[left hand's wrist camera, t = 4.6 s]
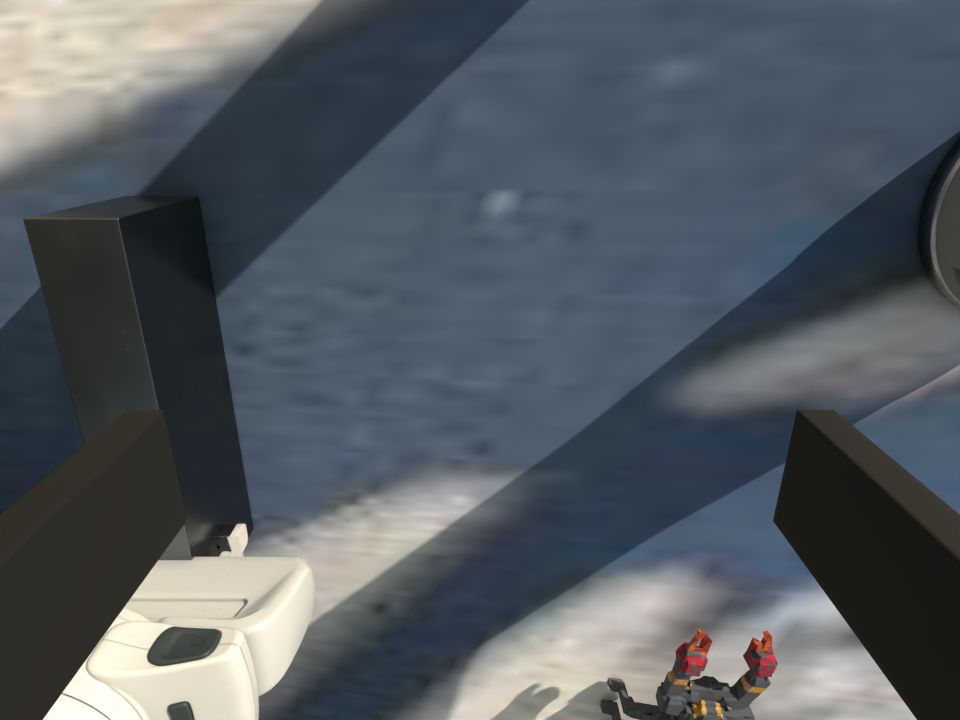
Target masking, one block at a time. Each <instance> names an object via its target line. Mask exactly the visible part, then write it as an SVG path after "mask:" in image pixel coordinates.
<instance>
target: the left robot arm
mask: <svg viewBox="0 0 960 720" xmlns="http://www.w3.org/2000/svg"><path fill="white" fill-rule="evenodd" d="M919 243H920V252H921V257H922V261H923V264H924V267H925V270H926V272H927V274H928V277H929V279H930V280H931V282H932V283H933V285H934V286H935V288H936V289H937V290H938V291H939V292H940V293H941V294H942V295H943V296H944V297H945V298H946V299H947V300H948V301H950V302H951V303H953V304H954V305H956V306H958V307H960V140H959V142H958V143H957V144H956V145H955V146H954V148H953V149H952V150H951V152H950V153H949V154H948V156H947V157H946V159H945V160H944V162H943V163H942V165H941V167H940V168H939V170H938V172H937V174H936V176H935V178H934V179H933V181H932V184H931V186H930V188H929V191H928V193H927V196H926V199H925V203H924V206H923V210H922V215H921V221H920V229H919ZM186 521H187V519H186V515H185V510H184V505H183V501H182V496H181V491H180V487H179V482H178V478H177V473H176V468H175V464H174V459H173V454H172V450H171V445H170V441H169V436H168V431H167V427H166V422H165V417H164V413H163V410H126V411H124V412H123V413H122V414H121V415H120V416H118V417H117V418H116V419H115V420H114V421H112V422H111V423H110V424H109V425H108V426H106V427H105V428H104V429H103V430H102V431H100V432H99V433H98V434H97V435H96V436H94V437H93V438H92V439H91V440H90V441H88V442H87V443H86V444H85V445H84V446H82V447H81V448H80V449H79V450H78V451H76V452H75V453H74V454H73V455H72V456H70V457H69V458H68V459H67V460H66V461H64V462H63V463H62V464H61V465H60V466H58V467H57V468H56V469H55V470H54V471H52V472H51V473H50V474H49V475H48V476H46V477H45V478H44V479H43V480H42V481H40V482H39V483H38V484H37V485H36V486H34V487H33V488H32V489H31V490H29V491H28V492H27V493H26V494H25V495H23V496H22V497H21V498H20V499H19V500H17V501H16V502H15V503H14V504H13V505H11V506H10V507H9V508H8V509H7V510H5V511H4V512H3V513H2V514H1V515H0V720H43V719H44V717H45V716H46V715H47V713H48V712H49V711H50V709H51V708H52V706H53V705H54V704H55V702H56V701H57V699H58V698H59V697H60V695H61V694H62V693H63V691H64V690H65V688H66V687H67V686H68V684H69V683H70V681H71V680H72V679H73V677H74V676H75V675H76V673H77V672H78V670H79V669H80V668H81V666H82V665H83V664H84V662H85V661H86V659H87V658H88V657H89V655H90V654H91V652H92V651H93V650H94V648H95V647H96V646H97V644H98V643H99V641H100V640H101V639H102V637H103V636H104V635H105V633H106V632H107V630H108V629H109V628H110V626H111V625H112V623H113V622H114V621H115V619H116V618H117V617H118V615H119V614H120V612H121V611H122V610H123V608H124V607H125V606H126V604H127V603H128V601H129V600H130V599H131V597H132V596H133V594H134V593H135V592H136V590H137V589H138V588H139V586H140V585H141V583H142V582H143V581H144V579H145V578H146V577H147V575H148V574H149V572H150V571H151V570H152V568H153V567H154V565H155V564H156V563H157V561H158V560H159V559H160V557H161V556H162V554H163V553H164V552H165V550H166V549H167V548H168V546H169V545H170V543H171V542H172V541H173V539H174V538H175V536H176V535H177V534H178V532H179V531H180V530H181V528H182V527H183V525H184V524H185V523H186ZM773 521H774V523H775V524H776V525H777V527H778V528H779V530H780V531H781V532H782V534H783V535H784V536H785V538H786V539H787V541H788V542H789V543H790V545H791V546H792V548H793V549H794V550H795V552H796V553H797V554H798V556H799V557H800V559H801V560H802V561H803V563H804V564H805V565H806V567H807V568H808V570H809V571H810V572H811V574H812V575H813V577H814V578H815V579H816V581H817V582H818V583H819V585H820V586H821V588H822V589H823V590H824V592H825V593H826V594H827V596H828V597H829V599H830V600H831V601H832V603H833V604H834V606H835V607H836V608H837V610H838V611H839V612H840V614H841V615H842V617H843V618H844V619H845V621H846V622H847V623H848V625H849V626H850V628H851V629H852V630H853V632H854V633H855V635H856V636H857V637H858V639H859V640H860V641H861V643H862V644H863V646H864V647H865V648H866V650H867V651H868V652H869V654H870V655H871V657H872V658H873V659H874V661H875V662H876V664H877V665H878V666H879V668H880V669H881V670H882V672H883V673H884V675H885V676H886V677H887V679H888V680H889V681H890V683H891V684H892V686H893V687H894V688H895V690H896V691H897V693H898V694H899V695H900V697H901V698H902V699H903V701H904V702H905V704H906V705H907V706H908V708H909V709H910V711H911V712H912V713H913V715H914V716H915V717H916V719H917V720H960V515H959V514H958V513H957V512H956V511H955V510H953V509H952V508H951V507H950V506H949V505H947V504H946V503H945V502H944V501H943V500H941V499H940V498H939V497H938V496H937V495H935V494H934V493H933V492H932V491H931V490H929V489H928V488H927V487H926V486H924V485H923V484H922V483H921V482H920V481H918V480H917V479H916V478H915V477H914V476H912V475H911V474H910V473H909V472H908V471H906V470H905V469H904V468H903V467H902V466H900V465H899V464H898V463H897V462H896V461H894V460H893V459H892V458H891V457H890V456H888V455H887V454H886V453H885V452H884V451H882V450H881V449H880V448H879V447H878V446H876V445H875V444H874V443H873V442H872V441H870V440H869V439H868V438H867V437H866V436H864V435H863V434H862V433H861V432H860V431H858V430H857V429H856V428H855V427H854V426H852V425H851V424H850V423H849V422H848V421H846V420H845V419H844V418H843V417H842V416H840V415H839V414H838V413H837V412H836V411H834V410H797V413H796V417H795V422H794V427H793V431H792V436H791V441H790V445H789V450H788V454H787V459H786V464H785V468H784V473H783V478H782V482H781V487H780V491H779V496H778V501H777V505H776V510H775V515H774V519H773Z"/></svg>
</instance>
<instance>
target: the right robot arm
mask: <svg viewBox="0 0 960 720" xmlns="http://www.w3.org/2000/svg"><path fill="white" fill-rule="evenodd" d="M216 537H217V543H218V546H219V553H220V556H219V557H194V558H193V559H192V560H158V561H157V563H156V564H155V565H154V567H153V568H152V570H151V571H150V572H149V574H148V575H147V577H146V578H145V579H144V581H143V582H142V583H141V585H140V586H139V588H138V589H137V590H136V592H135V593H134V594H133V596H132V597H131V599H130V600H129V601H128V603H127V604H126V606H125V607H124V608H123V610H122V611H121V612H120V614H119V615H118V617H117V618H116V619H115V621H114V622H113V623H112V625H111V626H110V628H109V629H108V630H107V632H106V633H105V635H104V636H103V637H102V639H101V640H100V641H99V643H98V644H97V646H96V647H95V648H94V650H93V651H92V652H91V654H90V655H89V657H88V658H87V659H86V661H85V662H84V664H83V665H82V666H81V668H80V669H79V670H78V672H77V673H76V675H75V676H74V677H73V679H72V680H71V681H70V683H69V684H68V686H67V687H66V688H65V690H64V691H63V693H62V694H61V695H60V697H59V698H58V699H57V701H56V702H55V704H54V705H53V706H52V708H51V709H50V711H49V712H48V713H47V715H46V716H45V717H44V719H43V720H258V719H259V696H261V695H263V694H265V693H266V692H268V691H269V690H271V689H272V688H273V687H274V686H275V685H276V684H277V683H278V682H279V681H280V680H281V678H282V677H283V676H284V674H285V673H286V671H287V670H288V668H289V666H290V664H291V662H292V660H293V658H294V656H295V654H296V653H297V651H298V648H299V646H300V644H301V642H302V640H303V637H304V635H305V633H306V630H307V628H308V625H309V623H310V620H311V617H312V614H313V611H314V606H315V588H314V580H313V574H312V570H311V568H310V567H309V565H308V564H307V562H306V561H305V560H304V559H303V558H301V557H296V556H291V557H244V556H243V551H244V549H245V547H246V545H247V542H248V534H247V528H246V524H224V525H223V527H222V530H220V532H219V533H218V535H217V536H216Z"/></svg>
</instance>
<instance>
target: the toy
mask: <svg viewBox="0 0 960 720" xmlns="http://www.w3.org/2000/svg"><path fill="white" fill-rule="evenodd" d="M763 634H764V637H763V639H762V641H761V642H760V641H758V640H757V639H755V638H752V641H751V643H750V645H749V647H748V649H747V651H746V652H745V654H744V655H743V657H744V659H745V661H746V662H747V664H748V666H749V668H750V670H749V671H748V672H746V673H745V674H744V675H743V676H742V677H741V678H740V679H739V680H738V681H737V682H736V684H735V685H734V686H733V687H729V684H728V683H721V682H719V681H717V680H716V679H715V678H714V677H709V676H703V677H702V678H700V679H696V680H690V681H689V679H690V677H691V676H700V673H701V671H704V669H705V666H706V664H707V661H708V660H707V658H706V655H707V653H708V650H709V648H710V645H711V643H712V641H711V639H710V638H709V637H708V636H706V635H707V634H706V633H704V632H703V631H701V630H699V629H698V633H697V634H696V635H695V636H694V638H693V639H692V640H691V642H690V643H687V642H685V643H684V644H682V645H681V646H680V647H679V648H678V649H677V651H676V661H675V664H674V667H673V669H672V671H671V672H668V674H667V676H666V678H665V681H664V682H662V683H661V686H659V687H658V689H657V693H656V699H657V703H658V706H655V705H649V704H643V703H637V702H634V700H633V699H632V697H628V694H627V690H626V687H625V684H624V682H623V681H622V680H621V679H613V678H608V681H607V683H608V686H609V688H610V689H611V691H614V692H619V696H620V700H621V705H622V709H623V713H625V714H626V715H628V716H630V717H632V718H635V719H640V720H754V719H755V718H754V715H753V713H752V711H751V708H750V706H749V705H750V704H751V702H752V701H753V700H754V699H755V698H757V697H758V696H759V695H760V694H761V693H762V692H763V691H764V690H765V689H766V688H767V687H768V686H769V685H770V684H771V683H770V681H769V679H768V677H771V676H772V673H774V671H775V669H776V667H777V661H776V659H775V656H774V654H773V650H772V636H771V635H770V634H769V633H768V631H764V632H763ZM699 638H700V639H702V640H701V643H700V646H699V647H698V646H696V644H697V642H698V639H699ZM600 706H601V709H602V712H603V713H605V714H611V715H612V720H621V717H620V713H619V709H618V704H617V702H609V701H602V702H601V705H600ZM727 706H729V707H731V708H732V709H734V710H728V708H727Z"/></svg>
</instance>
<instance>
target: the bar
mask: <svg viewBox="0 0 960 720" xmlns="http://www.w3.org/2000/svg"><path fill="white" fill-rule="evenodd" d="M23 220H24V224H25V227H26V231H27V235H28V238H29V242H30V246H31V249H32V253H33V257H34V260H35V264H36V268H37V271H38V275H39V279H40V282H41V286H42V290H43V293H44V297H45V301H46V304H47V308H48V312H49V316H50V319H51V323H52V327H53V330H54V334H55V338H56V341H57V345H58V349H59V352H60V356H61V360H62V363H63V367H64V371H65V374H66V378H67V382H68V385H69V389H70V393H71V396H72V400H73V404H74V407H75V411H76V415H77V418H78V422H79V426H80V429H81V433H82V437H83V440H84V444H86V443H87V442H88V441H90V440H91V439H92V438H93V437H94V436H96V435H97V434H98V433H99V432H100V431H102V430H103V429H104V428H105V427H106V426H108V425H109V424H110V423H111V422H112V421H114V420H115V419H116V418H117V417H118V416H120V415H121V414H122V413H123V412H124V411H126V410H163V413H164V417H165V422H166V427H167V431H168V436H169V441H170V445H171V450H172V454H173V459H174V464H175V468H176V473H177V478H178V482H179V487H180V491H181V496H182V501H183V505H184V510H185V515H186V519H187V521H186V523H185V524H184V525H183V527H182V528H181V530H180V531H179V532H178V534H177V535H176V536H175V538H174V539H173V541H172V542H171V543H170V545H169V546H168V548H167V549H166V550H165V552H164V553H163V554H162V556H161V557H160V559H159V560H192V559H193V558H194V557H219V556H220V553H219V546H218V543H217V537H216V536H217V535H218V533H219V532H220V530H222V527H223V525H224V524H246V528H247V534H248V538H249V536H250V534H251V532H252V531H253V523H252V517H251V511H250V505H249V499H248V493H247V487H246V481H245V475H244V469H243V463H242V457H241V451H240V445H239V439H238V433H237V427H236V421H235V415H234V409H233V403H232V397H231V391H230V385H229V379H228V372H227V366H226V360H225V354H224V348H223V342H222V336H221V330H220V324H219V318H218V312H217V306H216V300H215V294H214V288H213V282H212V276H211V270H210V264H209V258H208V252H207V246H206V240H205V234H204V228H203V221H202V215H201V209H200V203H199V197H198V196H124V197H120V198H115V199H111V200H106V201H102V202H97V203H92V204H88V205H83V206H79V207H74V208H70V209H65V210H60V211H56V212H51V213H47V214H42V215H38V216H33V217H28V218H24V219H23Z"/></svg>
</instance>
